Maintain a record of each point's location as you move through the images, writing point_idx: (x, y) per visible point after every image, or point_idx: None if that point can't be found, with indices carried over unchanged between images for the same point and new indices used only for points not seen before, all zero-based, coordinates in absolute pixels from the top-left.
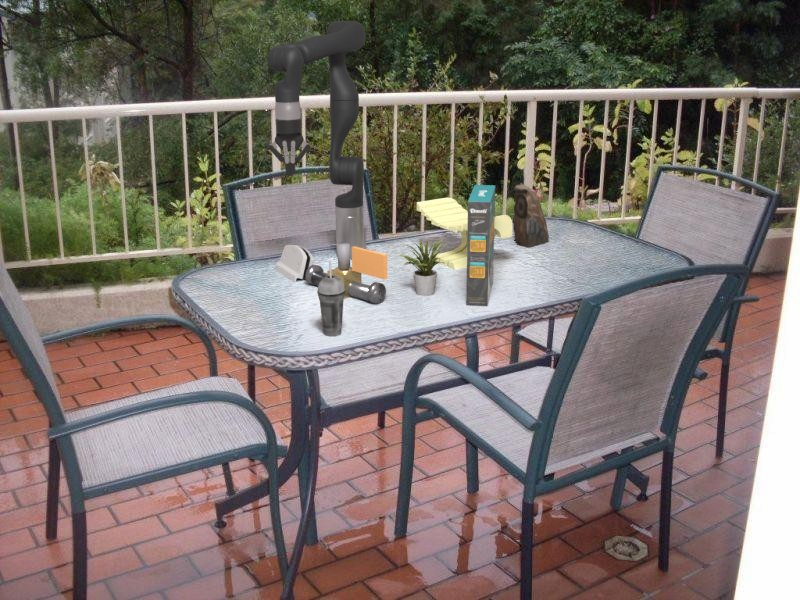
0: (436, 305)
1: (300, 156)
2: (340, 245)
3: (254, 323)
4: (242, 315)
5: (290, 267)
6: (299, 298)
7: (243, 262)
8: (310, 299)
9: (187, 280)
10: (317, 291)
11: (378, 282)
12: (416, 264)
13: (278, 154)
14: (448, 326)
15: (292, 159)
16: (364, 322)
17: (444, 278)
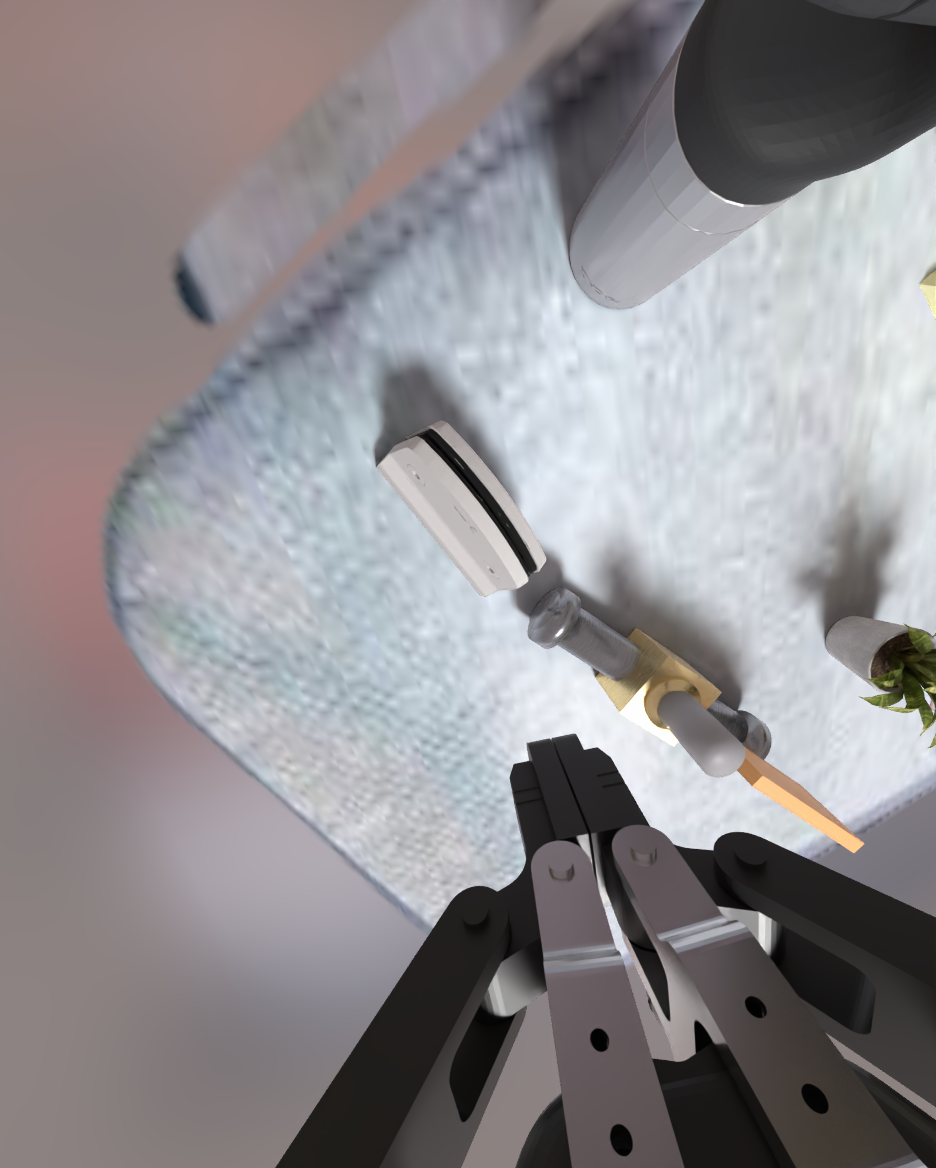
0: (861, 718)
1: (810, 987)
2: (712, 773)
3: (463, 875)
4: (421, 840)
5: (452, 531)
6: (526, 720)
7: (232, 395)
8: (556, 723)
9: (142, 622)
10: (650, 1006)
11: (761, 745)
12: (907, 700)
13: (470, 1113)
14: (864, 827)
15: (662, 967)
16: (696, 834)
17: (921, 501)
